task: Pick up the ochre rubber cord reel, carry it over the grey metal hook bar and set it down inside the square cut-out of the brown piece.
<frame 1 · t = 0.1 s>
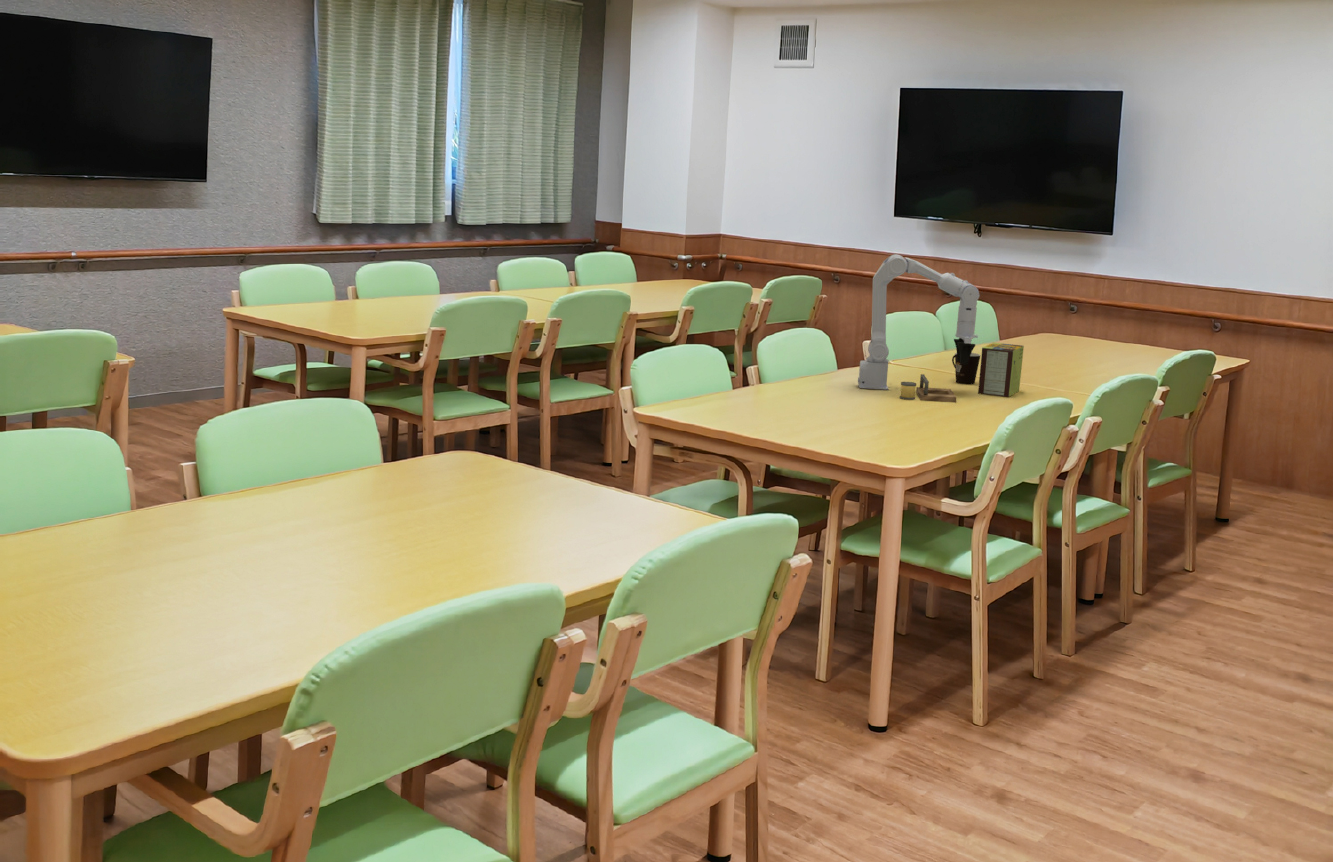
hand: (962, 362, 396), 10 cm above the table, tool pointing down, fingers open, 7 cm apart
brown piece: (935, 396, 388), on the table
protein box: (998, 392, 402), on the table
coffee mug: (964, 382, 419), on the table
cord reel: (907, 398, 383), on the table
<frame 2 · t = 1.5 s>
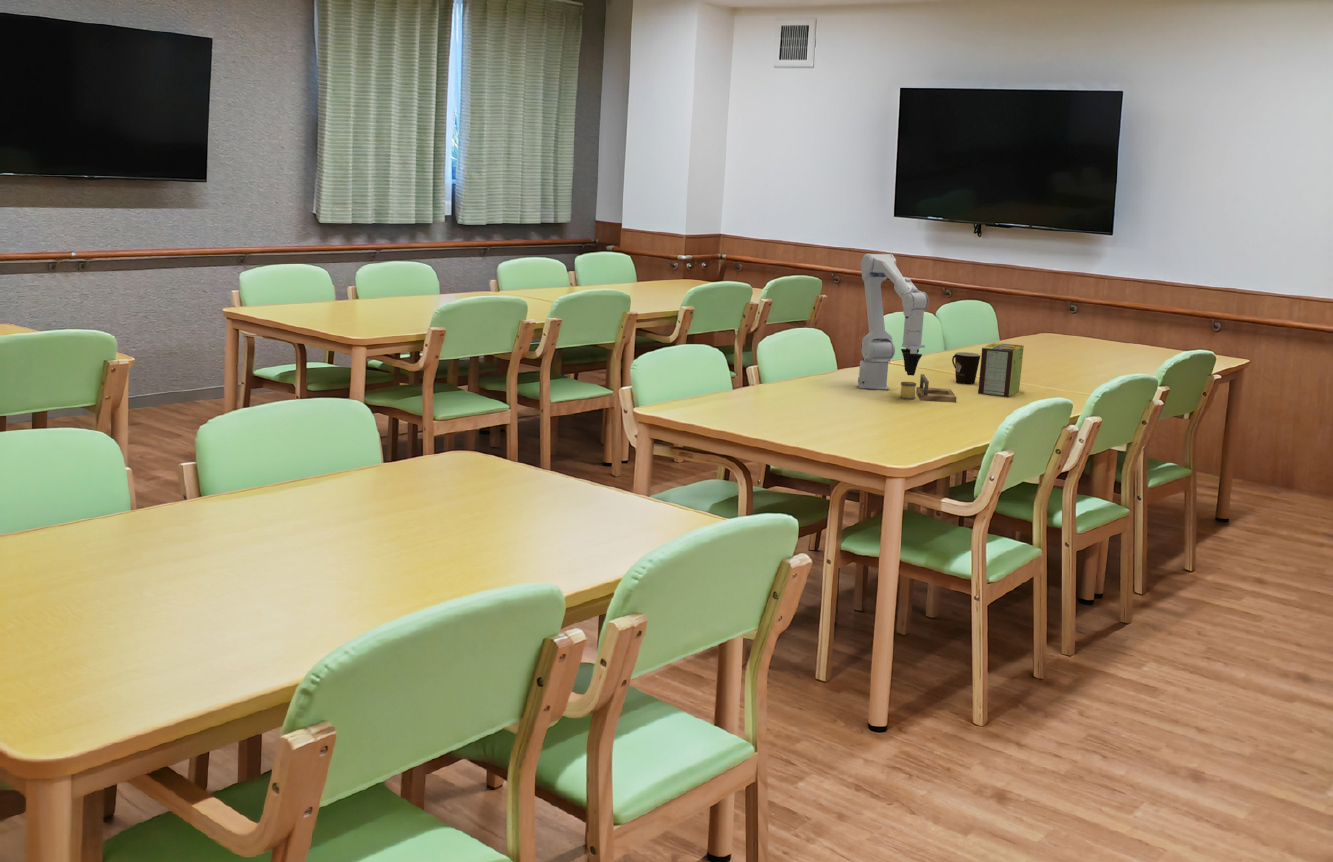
hand: (909, 373, 382), 8 cm above the table, tool pointing down, fingers open, 7 cm apart
nothing on the table moved.
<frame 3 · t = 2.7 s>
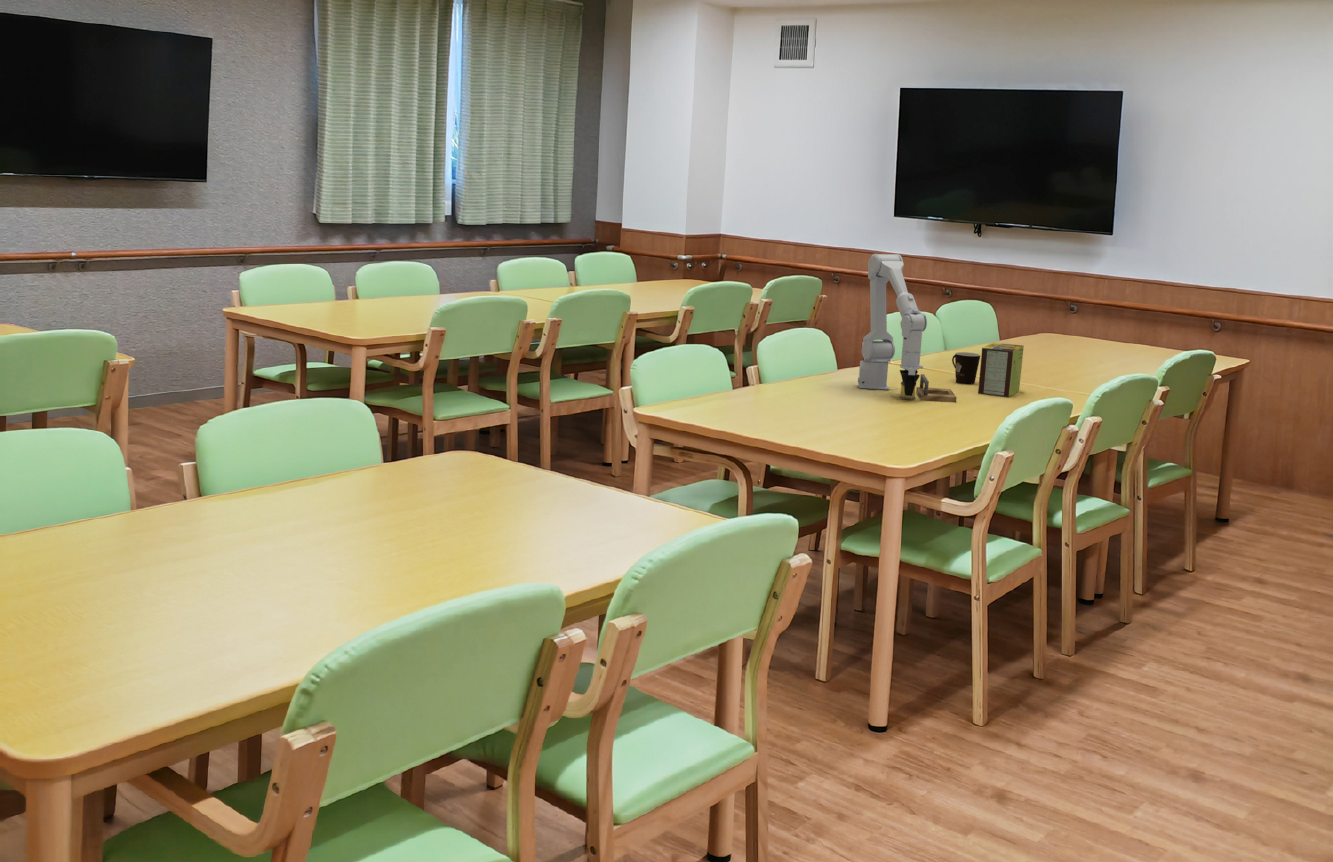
hand: (907, 394, 383), 1 cm above the table, tool pointing down, fingers closed on cord reel, 5 cm apart
cord reel: (907, 398, 383), on the table, touching gripper
everything else where it was.
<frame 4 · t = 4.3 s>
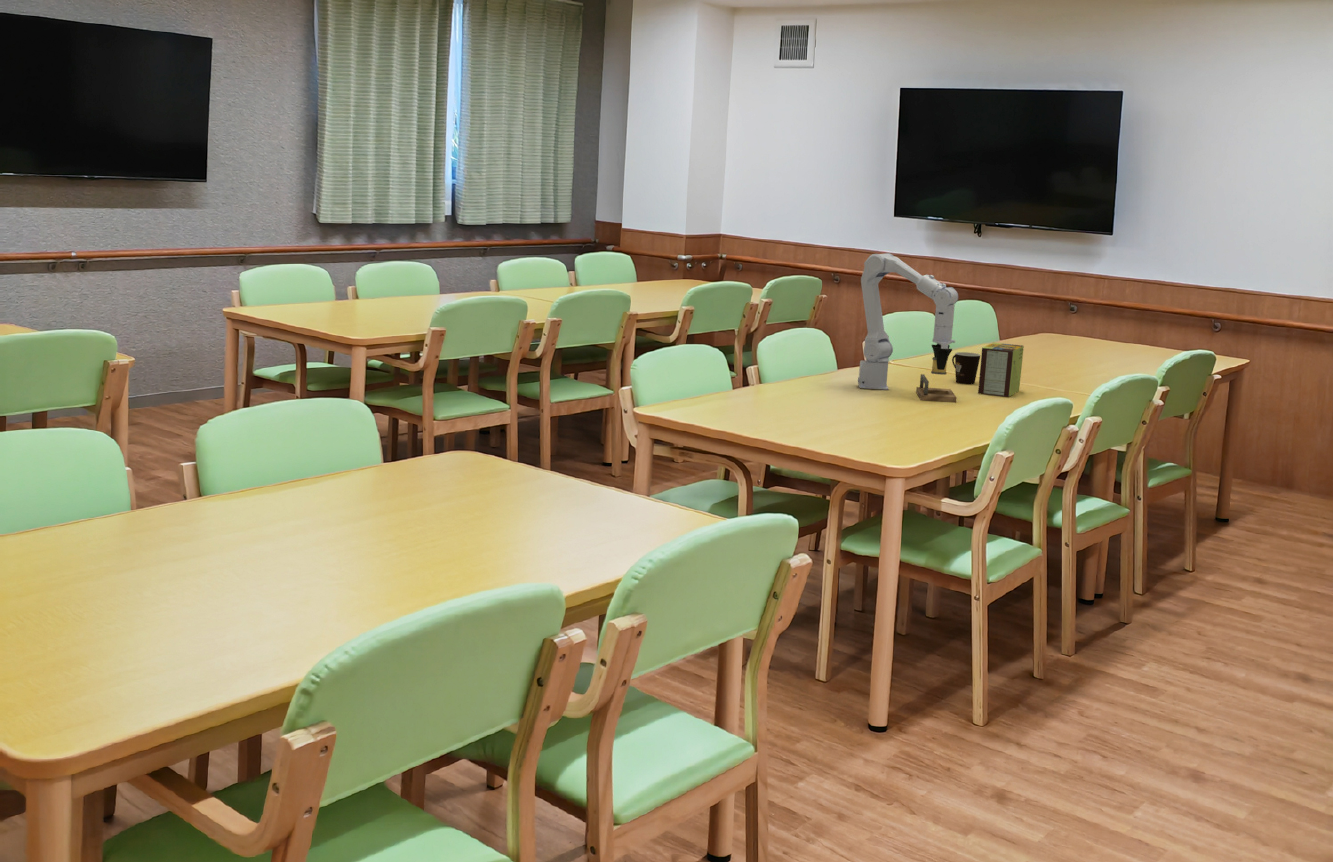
hand: (939, 368, 386), 9 cm above the table, tool pointing down, fingers closed on cord reel, 5 cm apart
cord reel: (938, 373, 386), point 8 cm above the table, touching gripper
everything else where it was.
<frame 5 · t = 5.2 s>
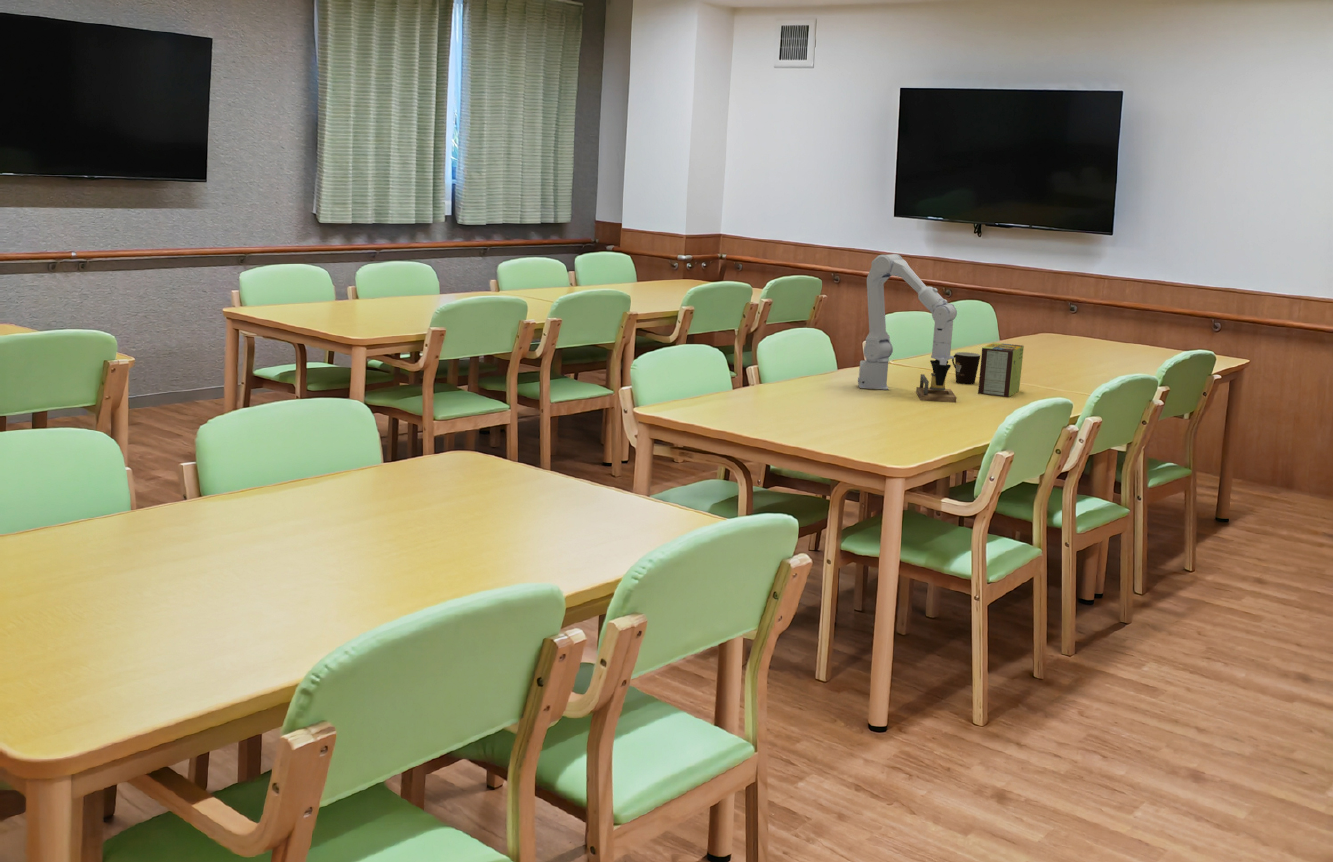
hand: (938, 384, 387), 4 cm above the table, tool pointing down, fingers closed on cord reel, 5 cm apart
cord reel: (937, 389, 387), point 3 cm above the table, touching gripper
everything else where it was.
when the fingers open (2 cm above the table, at t = 6.1 s): cord reel stays where it is, resting in brown piece.
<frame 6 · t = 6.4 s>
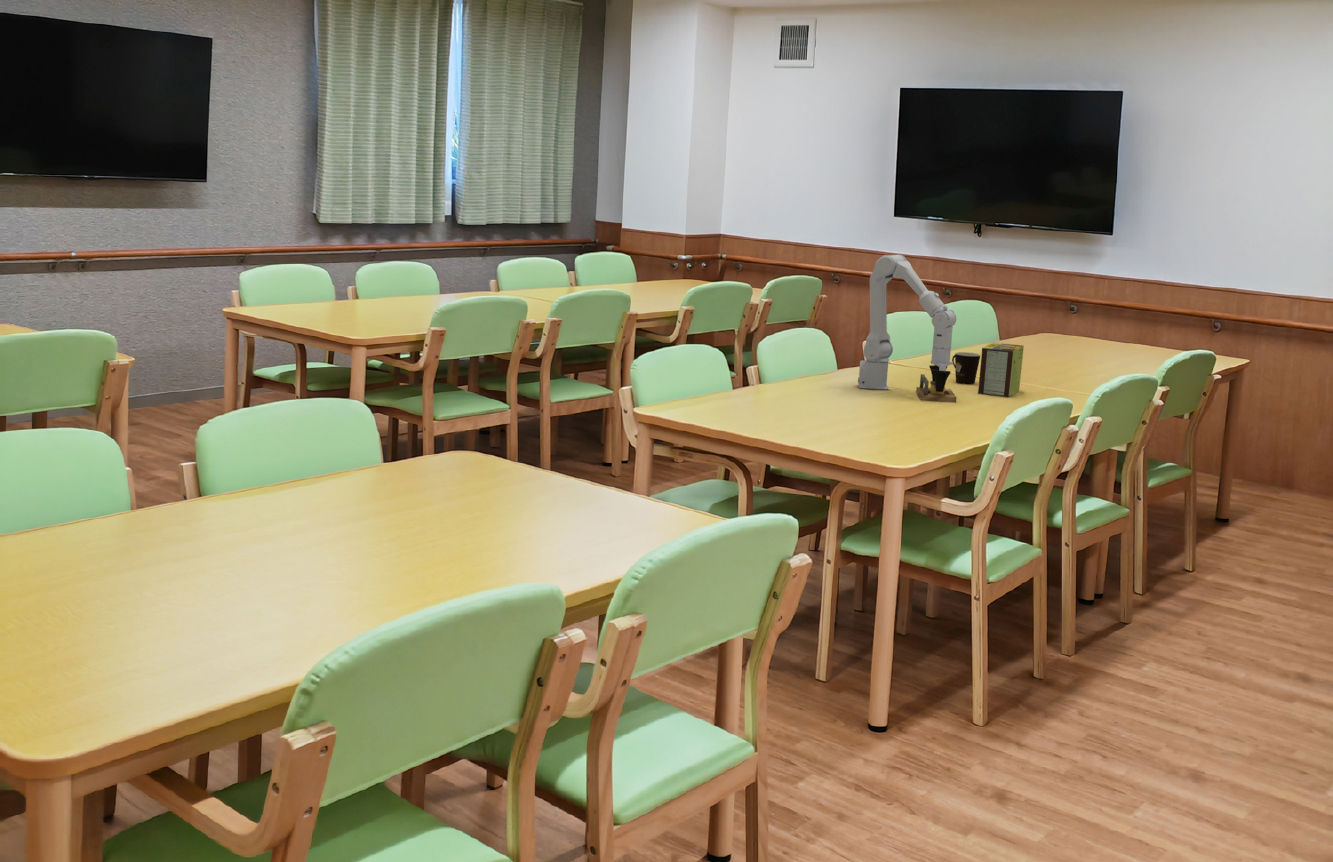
hand: (937, 389, 387), 2 cm above the table, tool pointing down, fingers open, 7 cm apart
cord reel: (936, 397, 388), resting in brown piece
everything else where it was.
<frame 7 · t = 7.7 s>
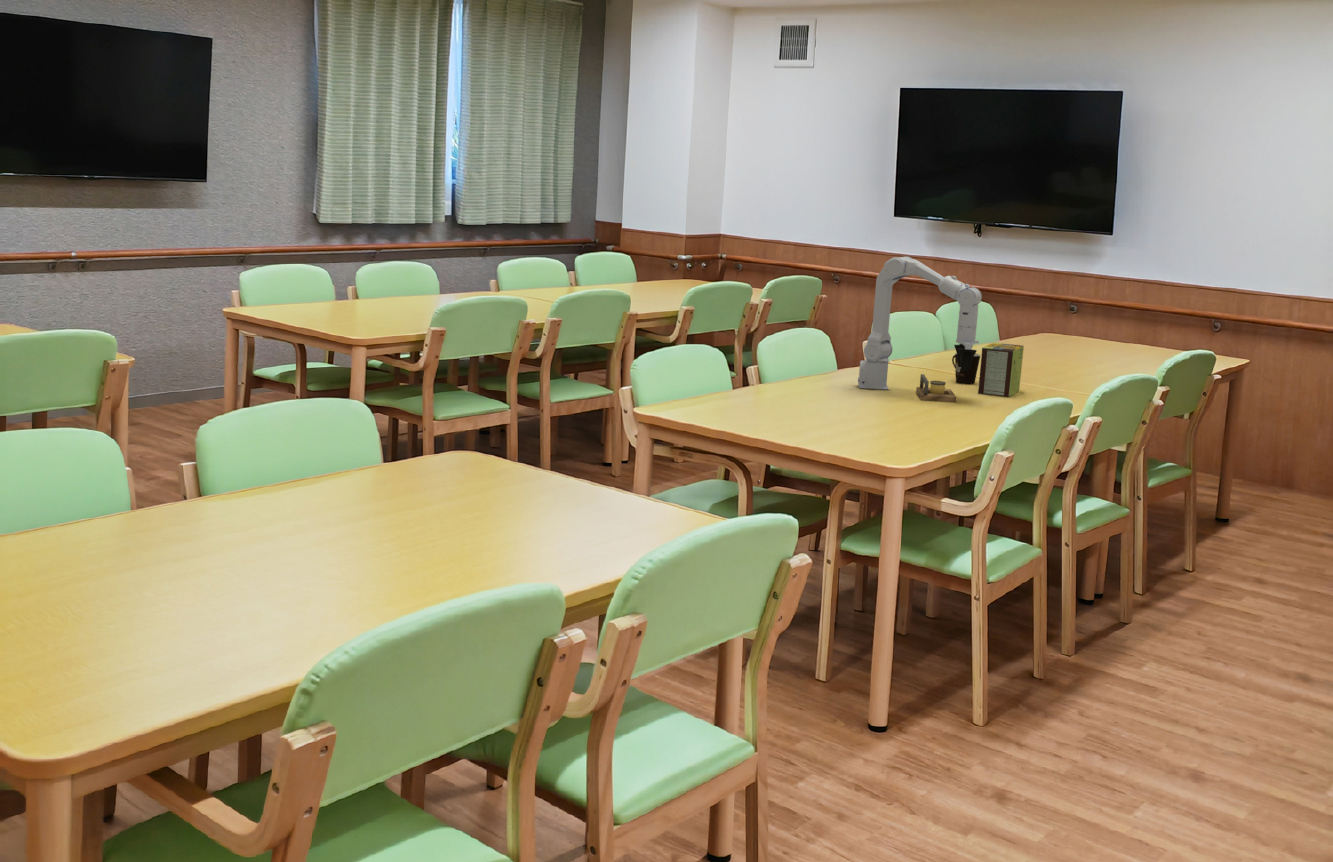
hand: (963, 369, 383), 10 cm above the table, tool pointing down, fingers open, 7 cm apart
nothing on the table moved.
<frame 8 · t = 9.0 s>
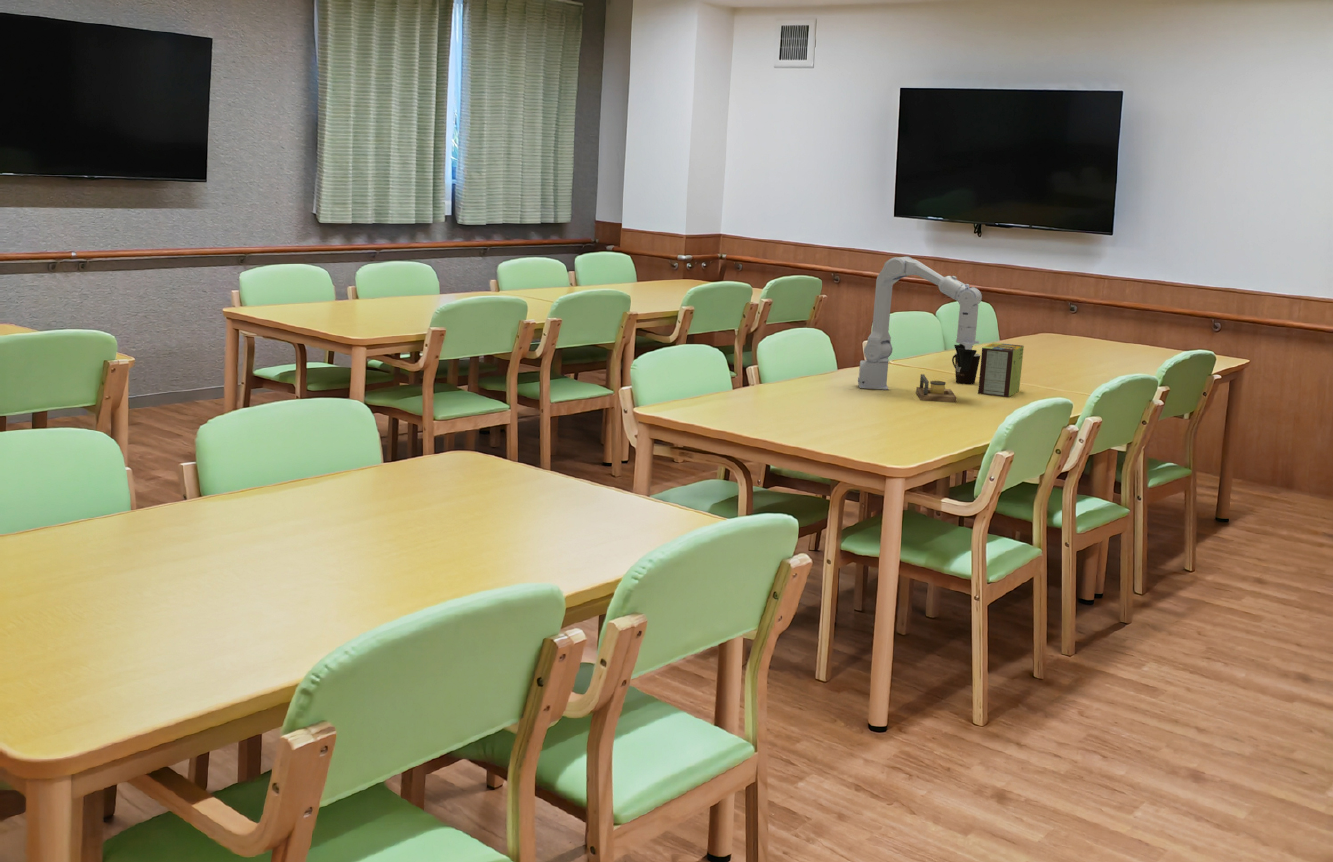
hand: (963, 369, 383), 10 cm above the table, tool pointing down, fingers open, 7 cm apart
nothing on the table moved.
at the end: cord reel 0.3 cm off-centre on the brown piece, point 0.0 cm above the brown piece's base; cord reel tilted 0°; the gripper is holding nothing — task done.
